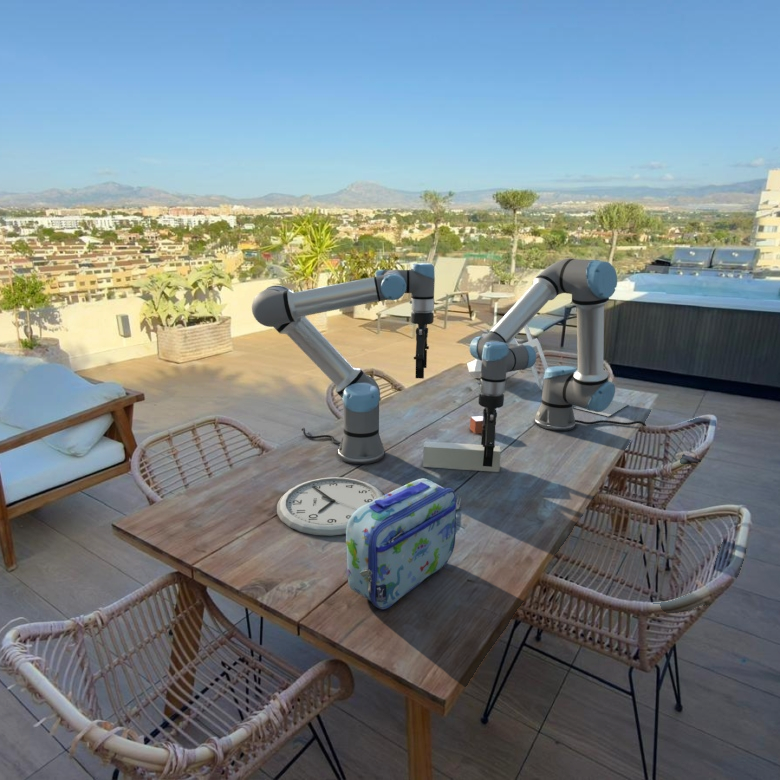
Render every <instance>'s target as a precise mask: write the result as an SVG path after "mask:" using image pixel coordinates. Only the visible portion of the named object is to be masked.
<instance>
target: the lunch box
mask: <svg viewBox="0 0 780 780" xmlns="http://www.w3.org/2000/svg"><path fill="white" fill-rule="evenodd" d="M456 498H457V495H456V493H455V491H454V489H452V488H450V487H443V486H441V485H439V484H438V483H436V482H433V481H432V480H430V479H427V478H423V477H422V478H418V479H416V480H413V481H411V482H409V483H406V484H405V485H402V486H400V487H398V488H396V489H394V490H392V491H390V492H388V493H386V494H384V496H382V497H380V498H378V499H376V500H374V501H372V502H370V503H368V504H366V505H364V506H362V507H360V508H358V509H357V510H356V511H355V512H354V513H353V514H352V515H351V517H350V519H349V521H348V524H347V528H346V534H345V547H346V549H345V550H346V572H347V573H346V575H347V584H348V587H349V589H350V590H351V591H353V592H355V593H357V594H358V595H361V596H363V597H364V598H365V599H367V600H368V601H369V602H371V604H372V605H373V606H374V607H376V608H377V609H380V610H386V609H389V608H391V607H393V605H395V603H397V602H398V601H399V600H400V599H402V598H403V597H404V596H405V595H408V593H410V592H411V591H412V590H413V589H415V588H416V587H417V586H419V585H420V584H421V583H423V581H424V580H425V579H427V578H428V577H430V576H431V575H433V574H435V573H437V572H438V571H439V570H441V569H442V568H443V567H444V566H446V564H447V563H448V562H449V560H450V559H451V556H452V555H453V552H454V548H455V544H456V531H457V530H456V529H457V510H456V502H457V499H456Z"/></svg>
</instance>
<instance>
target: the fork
mask: <svg viewBox="0 0 780 780" xmlns="http://www.w3.org/2000/svg"><path fill="white" fill-rule="evenodd" d="M461 501H462V497H460V499H459V495H458V496H457V499H456V511H457V510H459V509H460V506H461Z"/></svg>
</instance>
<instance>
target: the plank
mask: <svg viewBox="0 0 780 780" xmlns="http://www.w3.org/2000/svg"><path fill="white" fill-rule="evenodd" d="M501 454H502V450H501V446H500V445H495V448H494V450H493V461H492V467H487V466H483V458H484V447H483V445H481V444H474V443H458V442H441V441H426V440H425V441H424V442H423V451H422V468H432V469H433V468H434V469H449V470H460V471H461V470H462V471H479V472H492V473H493V472H494V473H500V467H501Z"/></svg>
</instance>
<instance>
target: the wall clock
mask: <svg viewBox="0 0 780 780" xmlns="http://www.w3.org/2000/svg"><path fill="white" fill-rule="evenodd" d="M384 495H385V494H384V493H383V492H382V491H381V490H380V489H379V488H377V487H376V486H375V485H372V484H371V483H369V482H366V481H363V480H359V479H355V478H349V477H338V476H337V477H335V476H333V477H332V476H331V477H322V478H317V479H312V480H307V481H305V482H302V483H299V484H297V485H295V486H294V487H292V488H290V489H288V490H287V491H286V492H285V493H284V494H283V495H281V497H280V498H279V500H278V502H277V503H276V515H277V516H278V518H279V520H280V521H281V522H282V523H283V524H285V525H286V526H287V527H288V528H290V529H293V530H295V531H297V532H300V533H304V534H308V535H312V536H313V535H314V536H327V537H328V536H329V537H331V536H342V535H346V528H347V524H348V521H349V519H350V517H351V515H352V514H353V513H354V512H355V511H356V510H357V509H358V508H360V507H362V506H364V505H366V504H368V503H370V502H372V501H374V500H376V499H378V498H380V497H382V496H384Z"/></svg>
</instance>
